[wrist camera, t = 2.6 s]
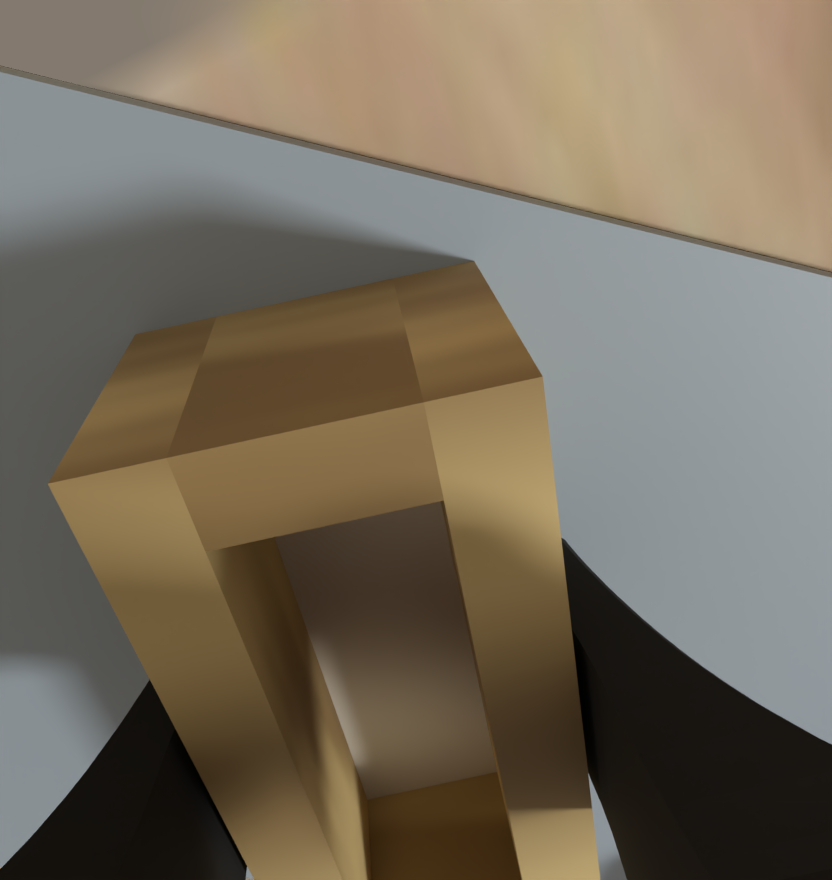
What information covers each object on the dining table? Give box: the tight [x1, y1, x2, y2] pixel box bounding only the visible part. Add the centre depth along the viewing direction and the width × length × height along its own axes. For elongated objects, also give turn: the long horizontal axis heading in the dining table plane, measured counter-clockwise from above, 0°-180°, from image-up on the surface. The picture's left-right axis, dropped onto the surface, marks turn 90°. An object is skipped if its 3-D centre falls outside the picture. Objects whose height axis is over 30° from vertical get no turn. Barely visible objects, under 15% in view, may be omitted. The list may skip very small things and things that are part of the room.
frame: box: [48, 261, 600, 880], centre depth 12 cm, size 11×5×4 cm, turn 11°
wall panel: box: [0, 66, 832, 880], centre depth 14 cm, size 16×26×4 cm, turn 76°
